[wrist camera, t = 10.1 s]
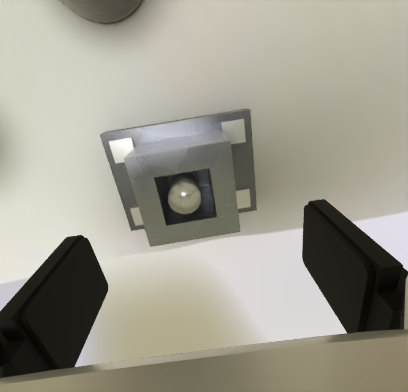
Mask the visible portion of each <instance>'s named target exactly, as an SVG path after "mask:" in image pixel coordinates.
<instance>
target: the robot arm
mask: <svg viewBox="0 0 408 392" xmlns="http://www.w3.org/2000/svg"><path fill="white" fill-rule="evenodd" d="M302 257H303V262H304V264H305V266H306V268H307V269H308V271H309V273H310V274H311V276H312V277H313V279H314V280H315V282H316V284H317V285H318V287H319V289H320V290H321V292H322V293H323V295H324V297H325V298H326V300H327V301H328V303H329V305H330V306H331V308H332V309H333V311H334V313H335V314H336V316H337V317H338V319H339V320H340V322H341V324H342V325H343V327H344V328H345V330H346V332H347V333H348V334H338V335H329V336H319V337H310V338H302V339H293V340H286V341H277V342H269V343H260V344H252V345H244V346H236V347H228V348H220V349H212V350H204V351H197V352H188V353H180V354H172V355H165V356H158V357H149V358H141V359H134V360H126V361H118V362H111V363H103V364H96V365H88V366H81V367H75V364H76V362H77V360H78V358H79V355H80V353H81V351H82V349H83V346H84V344H85V342H86V339H87V337H88V335H89V333H90V330H91V328H92V326H93V324H94V321H95V319H96V317H97V314H98V312H99V310H100V308H101V306H102V303H103V301H104V299H105V297H106V294H107V292H108V283H107V281H106V279H105V276H104V274H103V272H102V270H101V267H100V265H99V263H98V260H97V258H96V256H95V253H94V251H93V249H92V246H91V244H90V242H89V240H88V239H87V238H84V236H82V235H78V236H71V237H67V238H65V239H64V241H63V242H62V243H61V244H60V245H59V246H58V247H57V248H56V250H55V251H54V252H53V253H52V254H51V255H50V256H49V257H48V259H47V260H46V261H45V262H44V263H43V264H42V265H41V266H40V267H39V269H38V270H37V271H36V272H35V273H34V274H33V275H32V276H31V278H30V279H29V280H28V281H27V282H26V283H25V284H24V286H23V287H22V288H21V289H20V290H19V291H18V292H17V293H16V294H15V296H14V297H13V298H12V299H11V300H10V301H9V302H8V303H7V305H6V306H5V307H4V308H3V309H2V310H1V311H0V392H408V271H407V270H405V269H404V268H403V265H402V264H401V263H400V262H399V261H398V260H396V259H395V258H394V257H393V256H392V255H390V254H389V253H388V252H387V251H386V250H384V249H383V248H382V247H381V246H380V245H378V244H377V243H376V242H375V241H373V239H371V238H370V237H369V236H368V235H367V234H365V233H364V232H363V231H362V230H361V229H359V228H358V227H357V226H356V225H355V224H353V223H352V222H351V221H350V220H349V219H347V218H346V217H345V216H344V215H343V214H342V213H340V212H339V211H338V210H337V209H336V208H334V207H333V206H332V205H331V204H330V203H328V202H327V201H326V200H324V199H322V200H315V201H310V202H309V203H308V205H305V207H304V223H303V251H302Z"/></svg>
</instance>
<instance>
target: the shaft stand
mask: <svg viewBox="0 0 408 392" xmlns="http://www.w3.org/2000/svg"><path fill="white" fill-rule="evenodd" d="M214 130H221V131H222V132H223V133H224V134H225V135H226V136H227V137H228V138H229V140H230V141H231V150H232V159H233V169H234V178H235V187H236V197H237V206H238V213H241V212H247V211H253V210H257V208H256V193H255V178H254V162H253V147H252V132H251V116H250V110H249V109H243V110H237V111H230V112H224V113H218V114H212V115H206V116H200V117H194V118H188V119H182V120H176V121H170V122H164V123H158V124H152V125H146V126H140V127H134V128H128V129H122V130H116V131H110V132H105V133H102V134H100V137H101V140H102V143H103V146H104V149H105V152H106V155H107V158H108V161H109V164H110V167H111V170H112V173H113V176H114V179H115V182H116V185H117V188H118V191H119V194H120V197H121V200H122V203H123V206H124V209H125V212H126V215H127V218H128V222H129V225H130V228H131V231H132V230H138V229H144V228H145V227H144V224H143V221H142V217H141V214H140V211H139V208H138V204H137V201H136V198H135V194H134V191H133V188H132V185H131V181H130V178H129V175H128V172H127V168H126V165H125V162H124V158H125V157H126V156H127V155H128V154H129V153H130V152H131V151H132V150H133V149H134V148H135V147H136V146H137V145H138V144H139V143H144V142H149V141H155V140H161V139H167V138H173V137H179V136H185V135H191V134H197V133H203V132H208V131H214ZM166 177H167V182H168V186H169V195H168V203H169V205H170V207H171V208H172V209H173V210H174V211H175V212H177V213H180V214H189V213H192V212H194V211H195V210H196V209H197V208H198V207H199V205H200V203H201V194H200V192H203V191H209V190H210V183H209V177H208V170H207V169H202V170H196V171H190V172H184V173H178V174H172V175H166Z"/></svg>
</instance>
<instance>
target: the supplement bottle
mask: <svg viewBox="0 0 408 392" xmlns="http://www.w3.org/2000/svg"><path fill="white" fill-rule="evenodd" d="M58 1H60V2H61V3H62V4H64V5H65V6H66V7H68V8H69V9H71V10H72V11H73V12H75V13H76V14H78V15H80V16H82V17H84V18H86V19H88V20H91V21H95V22H101V23H109V22H115V21H118V20H121V19H123V18H125V17H127V16H128V15H129V14H131V13H132V12H133V11H134V10H135V9H136V7H137V6H138V5H139V3H140V2H141V0H58Z"/></svg>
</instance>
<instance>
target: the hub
mask: <svg viewBox="0 0 408 392" xmlns="http://www.w3.org/2000/svg"><path fill="white" fill-rule="evenodd" d="M124 162H125V165H126V168H127V172H128V175H129V178H130V181H131V185H132V188H133V191H134V194H135V198H136V201H137V204H138V208H139V211H140V214H141V217H142V221H143V224H144V227H145V231H146V234H147V237H148V240H149V244H150V247H152V246H158V245H164V244H170V243H176V242H182V241H188V240H193V239H199V238H205V237H211V236H217V235H223V234H229V233H235V232H240V225H239V215H238V206H237V197H236V187H235V178H234V169H233V159H232V150H231V141H230V140H229V138H228V137H227V136H226V135H225V134H224V133H223V132H222V131H221V130H214V131H208V132H203V133H197V134H191V135H185V136H179V137H173V138H167V139H161V140H155V141H149V142H144V143H139V144H138V145H137V146H136V147H135V148H134V149H133V150H132V151H131V152H130V153H129V154H128V155H127V156H126V157H125V158H124ZM202 169H207V170H208V177H209V183H210V190H209V191H203V192H200V194H201V203H200V205H199V207H198V208H197V209H196V210H195V211H194V212H192V213H189V214H180V213H177V212H175V211H174V210H173V209H172V208H171V207H170V205H169V203H168V195H169V186H168V182H167V177H166V175H172V174H178V173H184V172H190V171H196V170H202Z"/></svg>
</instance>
